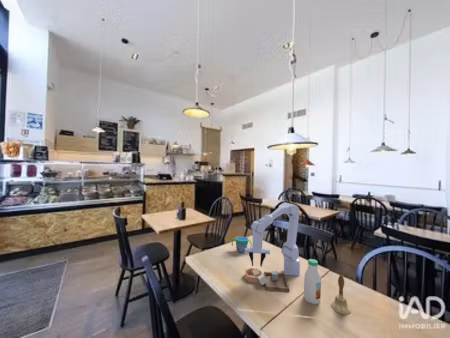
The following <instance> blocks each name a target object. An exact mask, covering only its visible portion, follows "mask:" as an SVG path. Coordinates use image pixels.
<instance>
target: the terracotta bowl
mask: <svg viewBox="0 0 450 338" xmlns="http://www.w3.org/2000/svg"><path fill="white" fill-rule="evenodd" d="M256 268H257V267H256ZM256 268H255V267H249V268H246V269H244V280H246V281H248V282H249V283H254V284H258V283H260V281H259V279H258V277H255V276H254V274H253V272H252V270H254V269H256ZM257 269H258V268H257ZM258 271H259V272H260V275H261V274H263V275H264V272H263V271H262V270H260V269H258Z"/></svg>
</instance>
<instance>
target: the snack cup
mask: <svg viewBox="0 0 450 338" xmlns="http://www.w3.org/2000/svg"><path fill="white" fill-rule="evenodd" d="M234 240H235V246H236V247H235V248H236V252H238V253H240V254H241V253H242V254H245V248H248V244H249V243H250V247H252V243H253V242H252V241H251V240H250V239H249V238H248V237H247V236H242V235H239V236H235V237H234V238H232V242H231V247H233V246H234Z"/></svg>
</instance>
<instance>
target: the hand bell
mask: <svg viewBox="0 0 450 338" xmlns="http://www.w3.org/2000/svg"><path fill="white" fill-rule="evenodd" d="M337 283H338V284H337V285H338V287H339V289H338V293H337V294H336V295H335V298H334V301H332V302H331V303H330V307H331V308H332V310H334V311H335V312H336V313H339V314H342V315H350V314H351V312H352V311H351V308H350V306H348V302H347V297H346V296H344V286H345V278H344V276H343V274H339V276H338V279H337Z"/></svg>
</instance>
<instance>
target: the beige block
mask: <svg viewBox="0 0 450 338" xmlns="http://www.w3.org/2000/svg"><path fill="white" fill-rule="evenodd" d="M252 272H253V274H254V276H255V277H258V276H260V272H259V271H258V268H257V267H256V269H254V270H252Z"/></svg>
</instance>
